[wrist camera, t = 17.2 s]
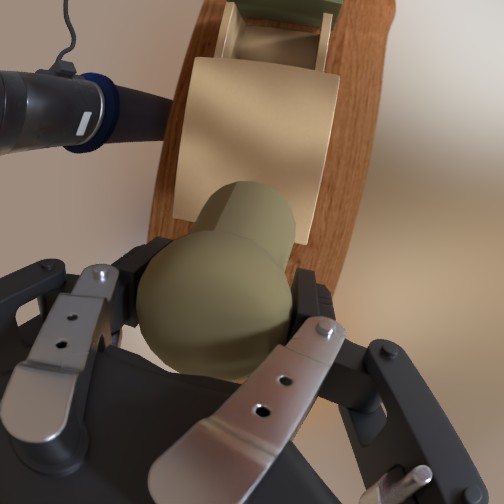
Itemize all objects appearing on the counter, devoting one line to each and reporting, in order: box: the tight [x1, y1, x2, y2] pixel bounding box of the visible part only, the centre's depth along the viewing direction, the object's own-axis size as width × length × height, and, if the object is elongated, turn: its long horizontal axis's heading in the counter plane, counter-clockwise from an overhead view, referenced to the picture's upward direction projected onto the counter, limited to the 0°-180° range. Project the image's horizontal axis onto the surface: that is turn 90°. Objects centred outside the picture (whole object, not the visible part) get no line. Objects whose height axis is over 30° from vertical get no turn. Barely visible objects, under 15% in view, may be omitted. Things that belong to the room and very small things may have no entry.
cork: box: [136, 181, 296, 382], centre depth 13 cm, size 6×6×11 cm
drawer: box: [213, 0, 343, 72], centre depth 23 cm, size 19×11×7 cm, turn 171°
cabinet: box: [172, 57, 340, 245], centre depth 27 cm, size 15×12×9 cm
